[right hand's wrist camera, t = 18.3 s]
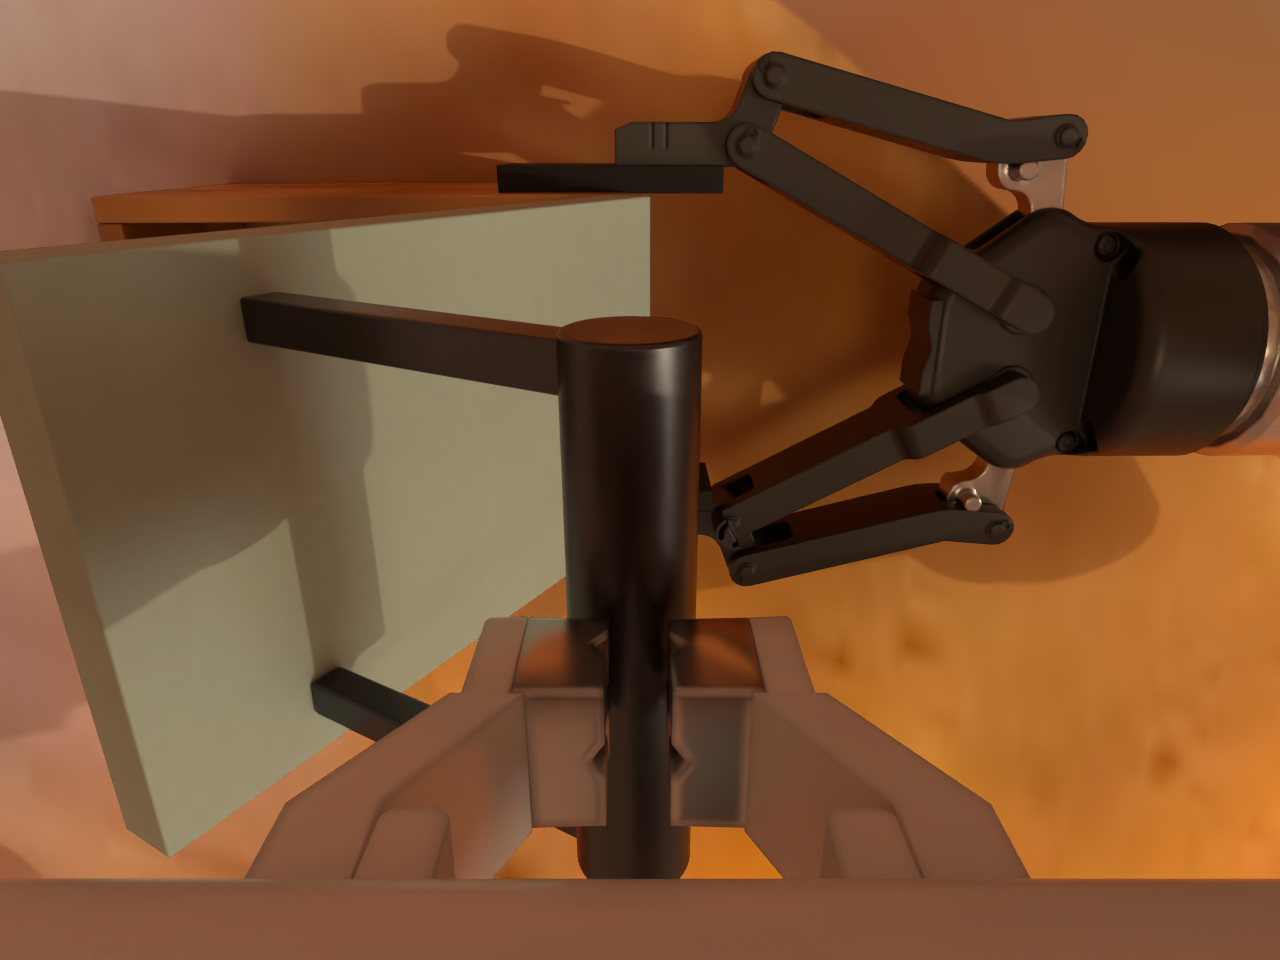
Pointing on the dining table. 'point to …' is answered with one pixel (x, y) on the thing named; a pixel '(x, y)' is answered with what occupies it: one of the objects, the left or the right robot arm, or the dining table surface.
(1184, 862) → the dining table surface
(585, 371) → the lid
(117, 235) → the chest
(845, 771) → the right robot arm
